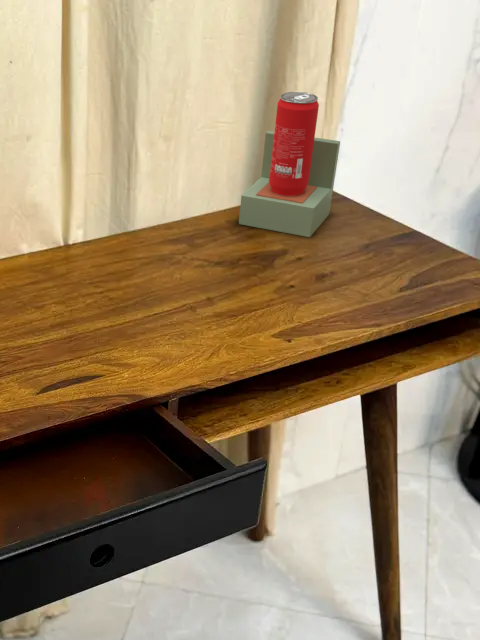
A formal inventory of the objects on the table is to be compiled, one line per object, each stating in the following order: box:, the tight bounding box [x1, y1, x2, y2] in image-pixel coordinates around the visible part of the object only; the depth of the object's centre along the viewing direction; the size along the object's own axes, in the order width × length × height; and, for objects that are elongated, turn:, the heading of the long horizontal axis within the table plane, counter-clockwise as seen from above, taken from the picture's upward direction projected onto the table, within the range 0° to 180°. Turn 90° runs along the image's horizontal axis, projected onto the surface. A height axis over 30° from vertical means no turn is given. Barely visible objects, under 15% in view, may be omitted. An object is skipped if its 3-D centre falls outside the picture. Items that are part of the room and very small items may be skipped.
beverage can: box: [269, 91, 320, 196], centre depth 128 cm, size 5×5×12 cm
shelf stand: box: [238, 130, 341, 238], centre depth 132 cm, size 10×9×10 cm
